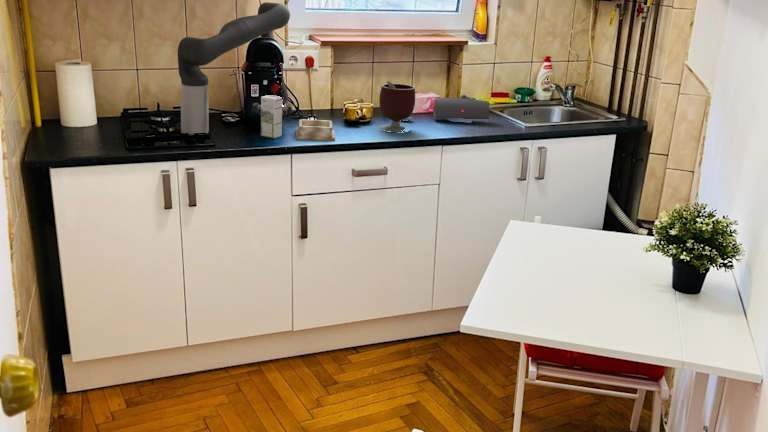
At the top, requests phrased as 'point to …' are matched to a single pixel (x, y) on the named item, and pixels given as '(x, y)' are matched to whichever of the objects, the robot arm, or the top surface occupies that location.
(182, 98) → the robot arm
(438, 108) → the bluetooth speaker
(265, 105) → the syrup box
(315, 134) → the beige square tray
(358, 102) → the tin
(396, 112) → the mate gourd
